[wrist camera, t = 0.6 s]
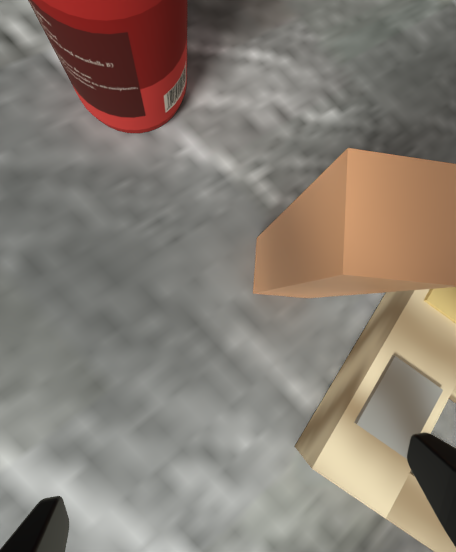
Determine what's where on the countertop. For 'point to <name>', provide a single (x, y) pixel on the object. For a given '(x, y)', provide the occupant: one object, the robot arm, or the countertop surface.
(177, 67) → the canned food
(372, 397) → the socket plate
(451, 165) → the plug
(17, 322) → the countertop surface
